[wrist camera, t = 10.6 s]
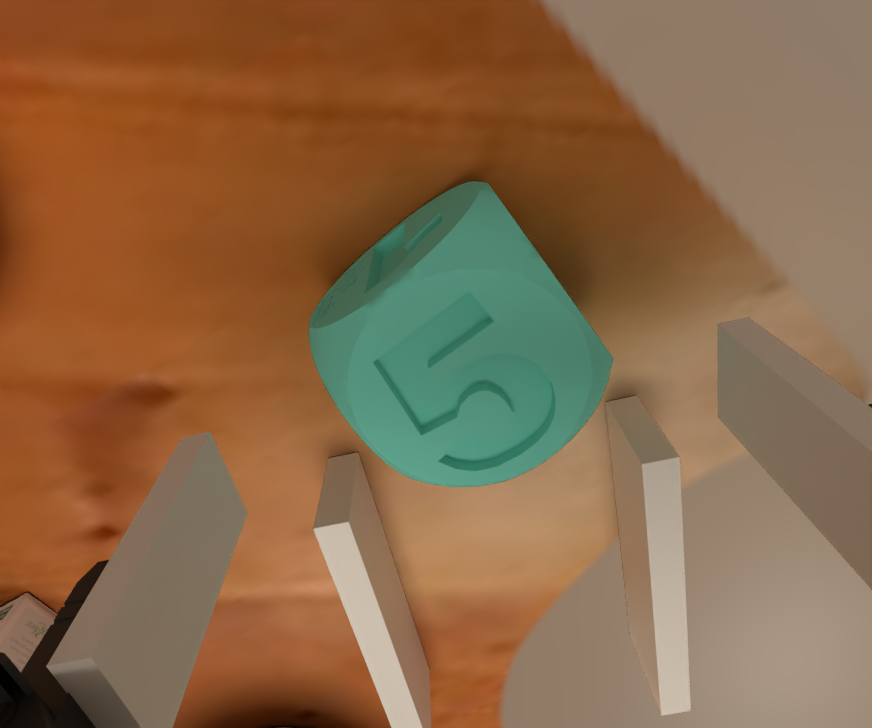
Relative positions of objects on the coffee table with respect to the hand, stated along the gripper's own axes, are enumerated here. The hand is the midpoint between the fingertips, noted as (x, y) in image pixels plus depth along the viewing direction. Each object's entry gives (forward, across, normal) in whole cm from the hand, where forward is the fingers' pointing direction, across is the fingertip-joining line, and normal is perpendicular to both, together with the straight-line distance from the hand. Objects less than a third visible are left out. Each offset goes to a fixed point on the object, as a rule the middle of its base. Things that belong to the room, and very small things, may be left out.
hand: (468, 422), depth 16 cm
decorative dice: (+11, 0, -1) cm, 11 cm away
